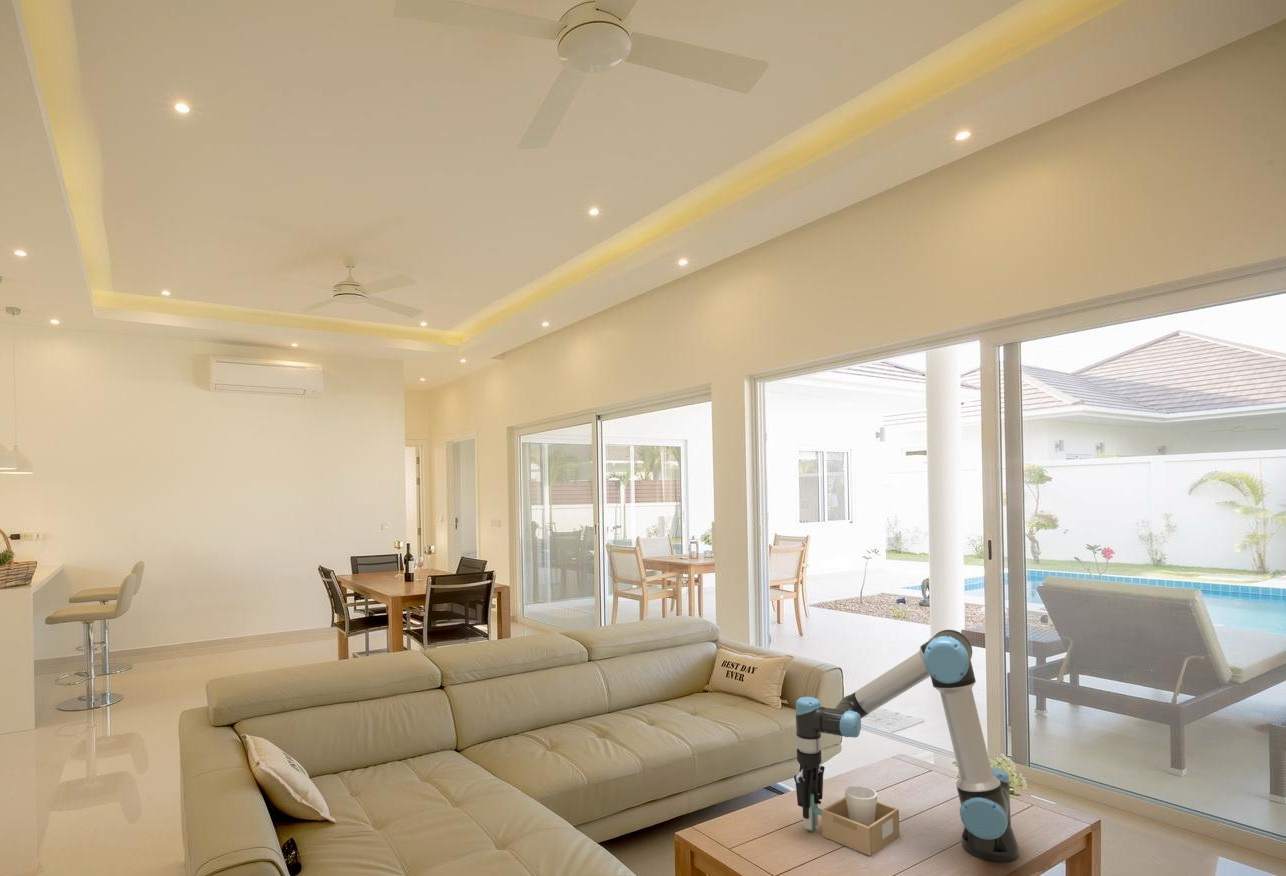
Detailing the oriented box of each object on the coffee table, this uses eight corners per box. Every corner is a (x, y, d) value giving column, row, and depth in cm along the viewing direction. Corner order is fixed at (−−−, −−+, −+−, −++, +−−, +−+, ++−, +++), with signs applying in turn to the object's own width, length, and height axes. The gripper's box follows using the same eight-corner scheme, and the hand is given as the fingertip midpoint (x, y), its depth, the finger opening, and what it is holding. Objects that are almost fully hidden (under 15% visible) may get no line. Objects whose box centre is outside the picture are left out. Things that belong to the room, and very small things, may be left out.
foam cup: (843, 839, 220) (841, 795, 221) (849, 825, 229) (848, 783, 229) (875, 846, 216) (874, 801, 217) (880, 832, 224) (879, 789, 225)
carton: (899, 836, 222) (899, 809, 222) (872, 855, 211) (871, 827, 211) (853, 818, 234) (852, 792, 234) (824, 835, 223) (824, 808, 223)
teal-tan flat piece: (872, 853, 211) (871, 815, 212) (868, 856, 210) (867, 818, 210) (809, 827, 227) (809, 792, 228) (805, 830, 226) (804, 794, 226)
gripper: (813, 739, 235) (815, 814, 234) (784, 752, 224) (785, 830, 223) (833, 745, 229) (835, 822, 228) (804, 759, 219) (806, 839, 218)
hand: (810, 826), depth 226 cm, fingers closed on teal-tan flat piece, 2 cm apart
